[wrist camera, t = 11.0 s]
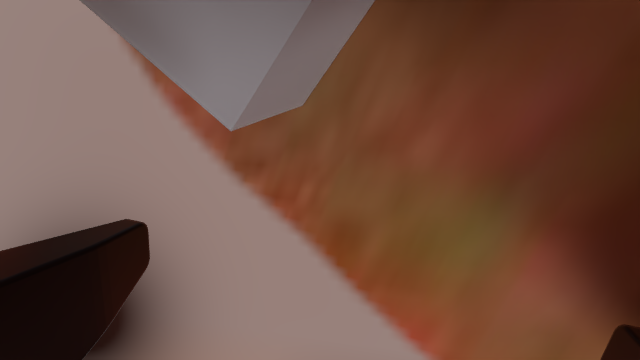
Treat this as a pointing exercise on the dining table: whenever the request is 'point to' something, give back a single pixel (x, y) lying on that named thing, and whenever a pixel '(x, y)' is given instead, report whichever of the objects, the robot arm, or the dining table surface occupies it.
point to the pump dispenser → (238, 48)
